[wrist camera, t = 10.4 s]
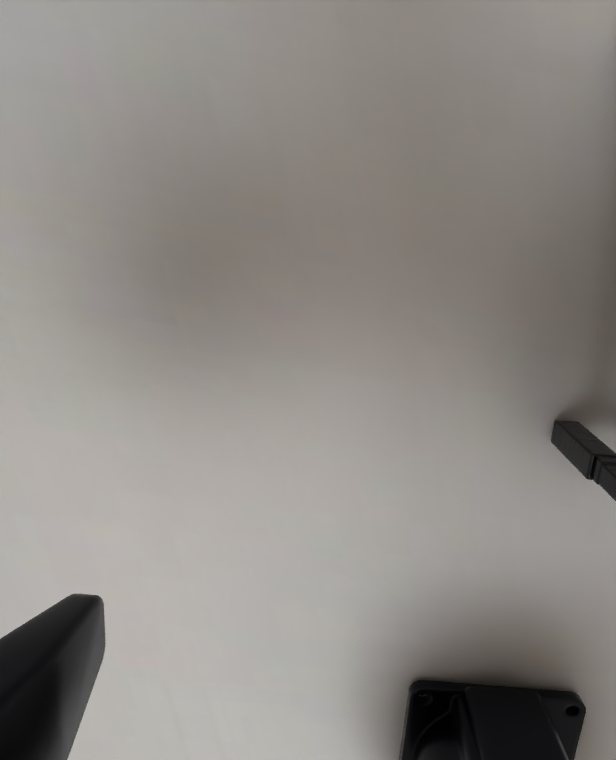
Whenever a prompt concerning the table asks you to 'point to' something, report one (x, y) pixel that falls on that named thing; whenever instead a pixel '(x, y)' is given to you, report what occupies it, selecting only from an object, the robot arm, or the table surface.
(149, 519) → the table surface
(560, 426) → the rack
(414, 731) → the robot arm
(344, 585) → the table surface
